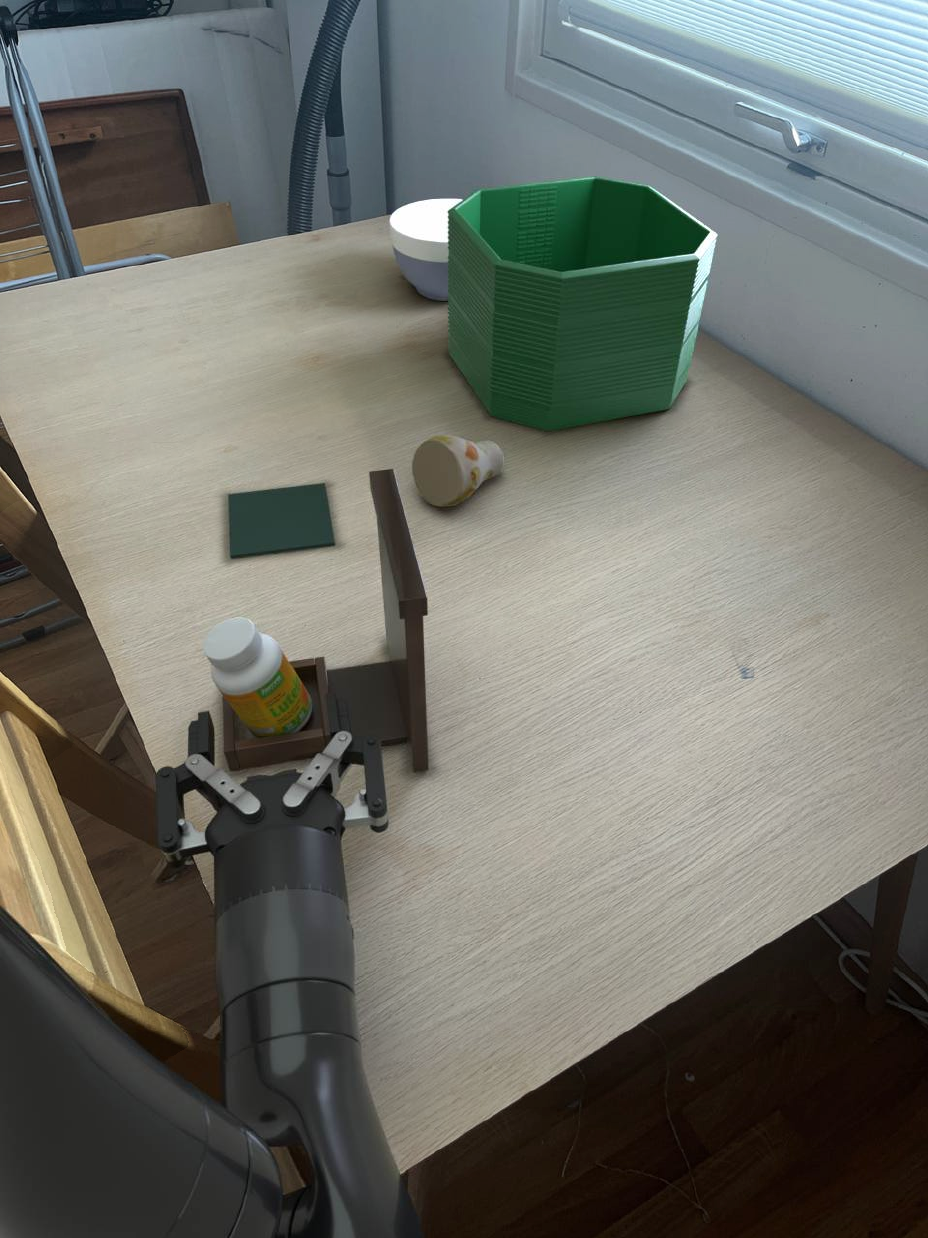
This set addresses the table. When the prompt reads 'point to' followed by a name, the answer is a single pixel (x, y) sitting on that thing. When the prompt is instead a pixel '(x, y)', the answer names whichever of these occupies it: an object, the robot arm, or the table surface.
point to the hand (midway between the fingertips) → (269, 709)
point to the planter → (575, 299)
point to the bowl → (423, 245)
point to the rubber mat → (279, 520)
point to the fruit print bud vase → (454, 468)
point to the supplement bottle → (256, 679)
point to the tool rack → (373, 692)
